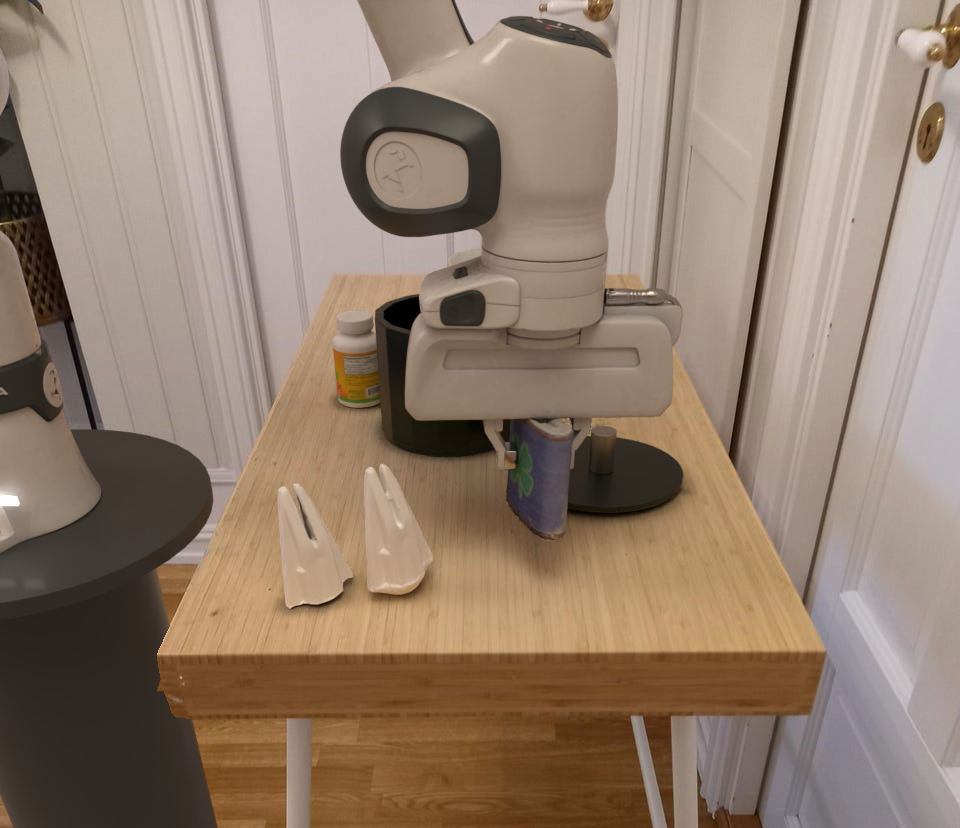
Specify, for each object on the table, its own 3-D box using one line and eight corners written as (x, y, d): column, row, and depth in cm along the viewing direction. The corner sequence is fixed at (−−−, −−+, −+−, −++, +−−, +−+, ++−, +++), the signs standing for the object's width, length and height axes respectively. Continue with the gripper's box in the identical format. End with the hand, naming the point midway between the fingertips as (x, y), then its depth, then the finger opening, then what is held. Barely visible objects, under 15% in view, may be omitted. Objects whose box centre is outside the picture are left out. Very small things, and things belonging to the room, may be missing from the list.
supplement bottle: (341, 391, 114) (334, 308, 109) (387, 391, 114) (381, 308, 109) (334, 408, 110) (326, 323, 104) (381, 409, 110) (375, 323, 104)
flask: (571, 539, 76) (581, 409, 70) (536, 544, 75) (543, 413, 69) (529, 488, 83) (534, 366, 77) (496, 493, 82) (499, 370, 76)
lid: (529, 522, 88) (530, 469, 85) (512, 449, 101) (512, 401, 98) (700, 515, 89) (707, 463, 86) (661, 443, 102) (666, 396, 99)
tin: (382, 459, 99) (373, 338, 92) (383, 404, 111) (376, 293, 104) (525, 454, 100) (528, 333, 92) (511, 400, 112) (513, 289, 104)
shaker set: (434, 574, 81) (429, 451, 74) (436, 601, 77) (431, 475, 71) (289, 581, 80) (271, 458, 73) (285, 609, 76) (266, 482, 70)
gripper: (676, 275, 72) (654, 448, 80) (401, 277, 71) (407, 452, 79) (697, 301, 67) (671, 482, 75) (401, 303, 66) (407, 487, 74)
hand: (533, 467), depth 77 cm, fingers closed on flask, 3 cm apart
